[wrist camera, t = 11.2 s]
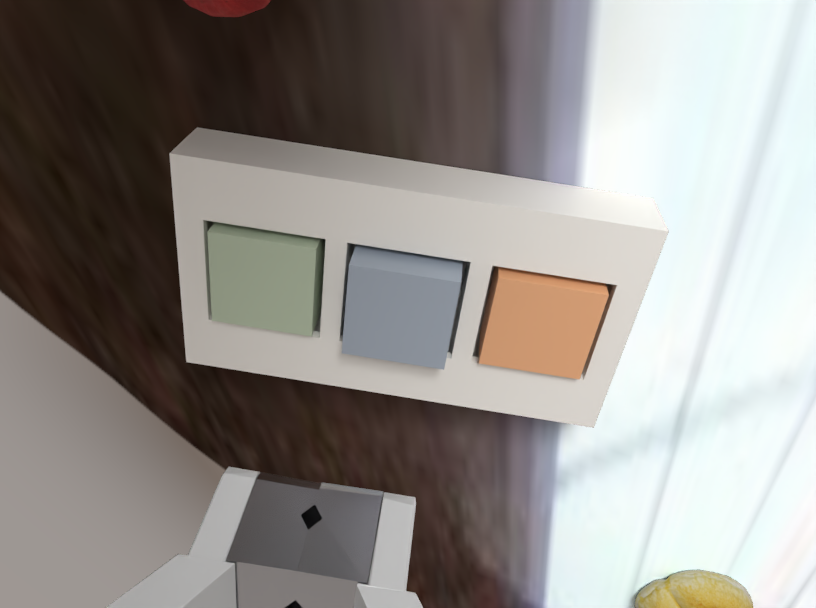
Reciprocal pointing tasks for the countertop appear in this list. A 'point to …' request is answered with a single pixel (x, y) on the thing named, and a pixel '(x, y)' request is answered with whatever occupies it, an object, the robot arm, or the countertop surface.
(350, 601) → the robot arm
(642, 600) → the bread roll
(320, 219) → the keypad
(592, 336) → the key terracotta
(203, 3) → the onion
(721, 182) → the countertop surface
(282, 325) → the key sage
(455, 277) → the key slate
